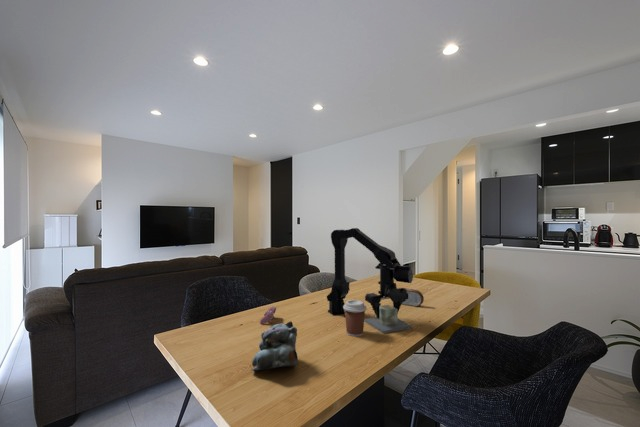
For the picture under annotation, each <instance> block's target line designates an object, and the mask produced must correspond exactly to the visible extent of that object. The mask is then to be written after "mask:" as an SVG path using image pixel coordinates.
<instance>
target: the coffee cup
mask: <svg viewBox="0 0 640 427" xmlns="http://www.w3.org/2000/svg"><path fill="white" fill-rule="evenodd" d="M343 309H344V310H345V311H344V312H345V316H344V317H345V325H346V326H345V327H346V335H348V336H351V337H361V336H363V335H364V325H365V322H364V319H365V314H366V311H367V306H366V305H365V303H364V302H363V301H362V300H359V299H349V300H347V301H345V305H344V306H343Z"/></svg>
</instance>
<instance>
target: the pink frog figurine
mask: <svg viewBox="0 0 640 427" xmlns="http://www.w3.org/2000/svg"><path fill="white" fill-rule="evenodd" d="M276 310H277V307H276V306H270V307H269V308H268V309H267V310H266V311H265V313H264V314H263V315H264V316H263V317H262V318H260V320H259V323H260V325H265V324H267V323H270V322H271V319H274V318H275V315H274V314H275V313H276Z"/></svg>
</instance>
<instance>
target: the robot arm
mask: <svg viewBox="0 0 640 427" xmlns="http://www.w3.org/2000/svg"><path fill="white" fill-rule="evenodd" d="M351 238H353V239H355V240H356V241H357V242H358V243H360V244H361V245H362V246H363V247H364V248H366V249H367V250H368V251H370V253H372V254H373V256H374V258H375V259H376V260H377V261H378V262H379V263H377V265H376V266H375V269H378V270H379V281H377V282H378V284H379V290H378V291H377V292H378V294H377V293H374V292H371V293H366V294H365V296H364V301H365V302H367V303H369V304H370V305H371V308H372V310H373V312H374V314H375V316H376V317H377V318H378V319H379V316H380V309H379V307H380V306H382V303H381V302H382V301H381V300H389V299H390V300H391V301H392V304H393V305H392V307H394V308H396V309H397V315H399V312H400V308H401V306H402V305H403V304H402V303H403V302H404V301H406V300H405V299H409V296H408V293H407V291H406V289H405V288H406V287H400V288H401V289H398V288H397V283H396V282H400V283H406V284H412V282H413V279H414V273H413V270H412V266H411V265H402V264H401V263H400V262H399V260H398V259H397V256H396V253H395V252H394V251H393V250H392V249H390V248H387V247H385V246H382V245H381V244H379V243H378V242H376V241H375V240H373V239H372V238H371V237H370V236H368V235H367V234H366V233H364V232H363V231H361V230H360V229H359V228H358V227H353V228H352V227H351V228H349V229H336V230H335V229H334V230H333V231H332V232H331V233H330V239H331V244H332V246H333V249H334V280H333V282H332V283H331V290H330V291H331V292H329V293H328V294H327V295H326V300H327V301H328V303H329V304H328V308H329V309H327V312H328V313H329V314H331V315H332V316H338V315H344V314H345V310H344V309H343V306H344V305H345V304H346V302H345V300H344V299H345V298H346V296H348V294H349V291H351V289H350V281H347V280H346V255H345V252H346V251H345V249H346V246H347V244H348V239H351ZM395 281H396V282H395Z"/></svg>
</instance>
